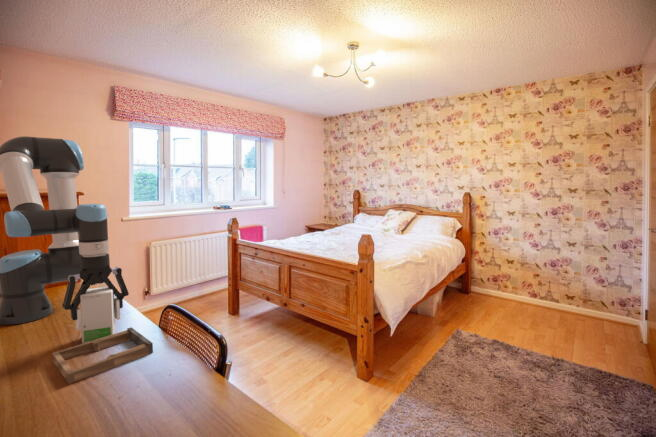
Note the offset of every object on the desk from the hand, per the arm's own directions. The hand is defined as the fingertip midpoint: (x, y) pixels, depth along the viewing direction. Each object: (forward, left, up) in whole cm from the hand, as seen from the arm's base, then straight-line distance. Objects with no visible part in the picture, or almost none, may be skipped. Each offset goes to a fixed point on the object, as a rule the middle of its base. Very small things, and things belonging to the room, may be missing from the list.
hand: (98, 323), depth 105 cm
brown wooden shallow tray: (+14, -3, -5) cm, 15 cm away
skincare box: (0, 0, -5) cm, 5 cm away
